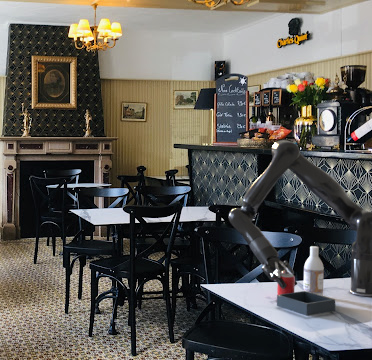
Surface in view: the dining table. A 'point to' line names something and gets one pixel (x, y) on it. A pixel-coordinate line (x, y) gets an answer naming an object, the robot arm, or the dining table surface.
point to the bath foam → (313, 273)
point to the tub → (306, 303)
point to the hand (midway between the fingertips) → (290, 286)
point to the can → (290, 283)
